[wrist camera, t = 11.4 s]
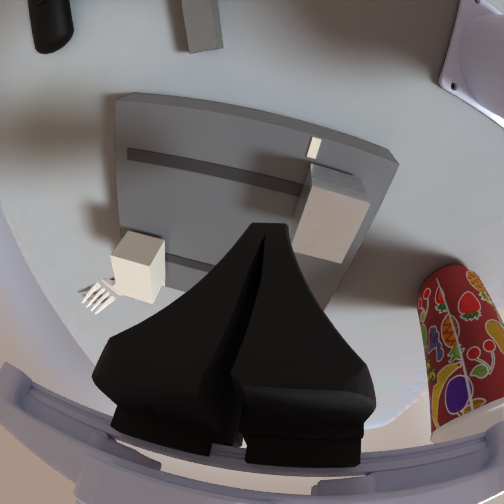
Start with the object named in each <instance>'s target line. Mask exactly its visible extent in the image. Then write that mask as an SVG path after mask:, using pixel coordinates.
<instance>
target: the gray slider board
mask: <svg viewBox="0 0 504 504" xmlns="http://www.w3.org/2000/svg"><path fill="white" fill-rule="evenodd" d="M310 163H312V164H316V165H319V166H322V167H326V168H329V169H332V170H336V171H339V172H342V173H345V174H348V175H351V176H355V177H358V178H361V180H362V182H363V185H364V187H365V190H366V192H367V195H368V198H369V200H370V203H371V204H370V206H369V209H368V211H367V213H366V215H365V217H364V219H363V221H362V223H361V225H360V227H359V229H358V231H357V233H356V236H355V238H354V240H353V242H352V244H351V245H350V247H349V249H348V251H347V253H346V255H345V257H344V259H343V261H342V263H337V262H333V261H329V260H325V259H321V258H317V257H313V256H309V255H305V254H301V253H297V252H294V254H295V257H296V259H297V262H298V265H299V267H300V269H301V272H302V274H303V276H304V278H305V280H306V282H307V284H308V286H309V288H310V290H311V292H312V293H313V295H314V297H315V299H316V300H317V302H318V304H319V305H320V307H321V308H322V310H323V311H324V309H325V307H326V306H327V304H328V302H329V301H330V299H331V297H332V296H333V294H334V292H335V290H336V289H337V287H338V285H339V284H340V282H341V280H342V278H343V276H344V275H345V273H346V271H347V269H348V267H349V266H350V264H351V262H352V260H353V258H354V256H355V255H356V253H357V251H358V249H359V247H360V245H361V243H362V241H363V239H364V238H365V236H366V234H367V232H368V230H369V228H370V226H371V224H372V222H373V220H374V218H375V216H376V214H377V212H378V210H379V208H380V205H381V203H382V201H383V199H384V197H385V195H386V193H387V191H388V188H389V186H390V184H391V182H392V180H393V178H394V175H395V173H396V171H397V168H398V166H399V163H398V162H397V161H396V159H395V158H394V157H393V155H392V154H391V152H390V151H389V150H388V149H386V148H383V147H380V146H378V145H375V144H372V143H370V142H367V141H364V140H361V139H358V138H356V137H353V136H350V135H347V134H344V133H341V132H338V131H334V130H331V129H328V128H325V127H321V126H318V125H315V124H311V123H308V122H304V121H300V120H297V119H293V118H289V117H285V116H281V115H277V114H273V113H269V112H264V111H260V110H255V109H250V108H246V107H241V106H235V105H230V104H225V103H219V102H213V101H207V100H200V99H193V98H186V97H177V96H169V95H159V94H148V93H133V94H130V95H128V96H125V97H123V98H120V99H118V100H116V101H115V168H116V186H117V200H118V212H119V222H120V232H121V240H122V238H123V237H124V236H125V234H126V233H127V232H128V231H131V232H135V233H139V234H143V235H147V236H151V237H155V238H159V239H163V240H165V280H164V282H163V284H162V286H166V287H170V288H174V289H177V290H181V291H184V292H187V291H188V290H190V289H191V288H192V287H193V286H194V285H196V284H197V283H198V282H199V281H200V280H201V279H202V278H203V277H204V276H205V275H207V274H208V273H209V272H210V271H211V270H212V268H213V267H214V266H215V265H216V264H217V263H218V262H219V261H220V260H221V259H222V258H223V257H224V256H225V255H226V254H227V252H228V251H229V250H230V249H231V248H232V247H233V245H234V244H235V243H236V242H237V241H238V239H239V238H240V237H241V235H242V234H243V233H244V232H245V230H246V229H247V228H248V226H249V225H250V224H251V223H252V222H255V223H286V224H287V225H288V226H289V237H290V235H291V221H292V218H293V215H294V212H295V209H296V206H297V203H298V200H299V197H300V194H301V191H302V188H303V185H304V182H305V179H306V176H307V173H308V170H309V166H310Z"/></svg>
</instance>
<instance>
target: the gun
mask: <svg viewBox="0 0 504 504" xmlns="http://www.w3.org/2000/svg"><path fill="white" fill-rule="evenodd" d="M181 2H182V9H183V16H184V22H185V28H186V35H187V41H188V47H189V53H190V54H192V53H198V52H203V51H209V50H216V49H221V48H223V41H222V33H221V25H220V17H219V9H218V1H217V0H181ZM28 5H29V13H30V21H31V27H32V33H33V39H34V44H35V49H36V50H37V51H38V52H39V53H42V54H48V53H52V52H55V51H57V50H59V49H61V48H62V47H63V46H65V45H66V44H67V43H68V42H69V40H70V39H71V37H72V35H73V32H74V27H73V21H72V15H71V9H70V2H69V0H28Z"/></svg>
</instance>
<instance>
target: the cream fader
mask: <svg viewBox="0 0 504 504" xmlns="http://www.w3.org/2000/svg"><path fill="white" fill-rule="evenodd" d="M110 256H111V261H112V267H113V272H114V277H115V282H116V286H117V291H118V293H119V294H122V295H125V296H128V297H131V298H135V299H138V300H141V301H144V302H147V303H151V304H153V303H154V301H155V299H156V297H157V294H158V292H159V290H160V288H161V286H162V284H163V282H164V280H165V240H163V239H159V238H155V237H151V236H147V235H143V234H139V233H135V232H131V231H128V232H127V233H126V234H125V236H124V237H123V238H122V240H121V241H120V242H119V244H118V245H117V247H116V248H115V249H114V251H113V252H112V254H111V255H110Z"/></svg>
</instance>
